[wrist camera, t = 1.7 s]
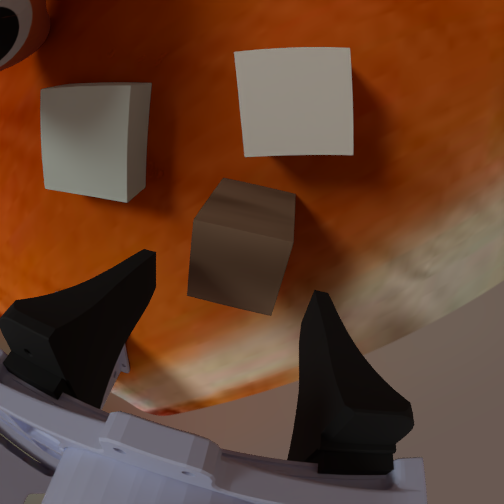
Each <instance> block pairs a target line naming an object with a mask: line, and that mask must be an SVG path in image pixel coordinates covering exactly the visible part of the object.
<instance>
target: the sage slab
mask: <svg viewBox="0 0 504 504" xmlns="http://www.w3.org/2000/svg"><path fill="white" fill-rule="evenodd" d="M151 88H152V83H139V82H103V83H78V84H65V85H59V86H54V87H49V88H44V89H41V106H40V115H41V147H42V162H43V173H44V183H45V189H50V190H56V191H62V192H68V193H74V194H80V195H86V196H92V197H97V198H103V199H109V200H114V201H120V202H125V203H128V202H129V201H130V200H131V199H132V198H133V197H135V196H136V195H137V194H138V193H139V192H140V191H142V190H143V189H144V188H145V187H146V156H147V137H148V122H149V109H150V98H151Z"/></svg>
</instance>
